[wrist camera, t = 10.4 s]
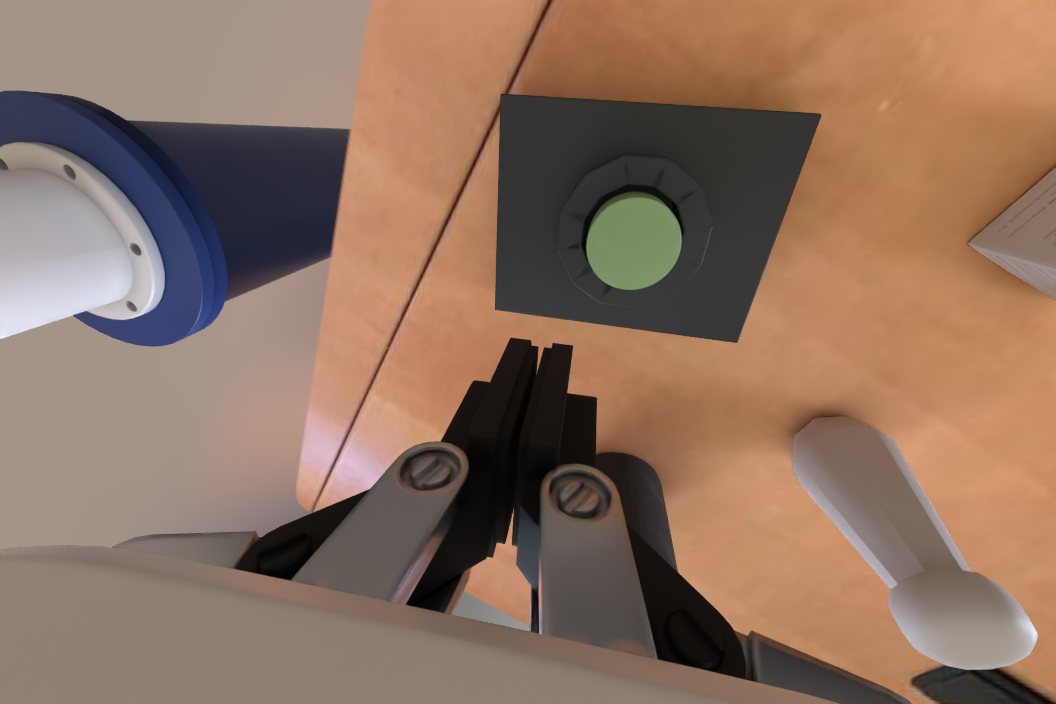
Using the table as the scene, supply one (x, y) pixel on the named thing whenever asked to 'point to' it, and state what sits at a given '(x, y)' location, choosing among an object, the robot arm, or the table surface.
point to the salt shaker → (909, 547)
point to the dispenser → (652, 167)
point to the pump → (633, 241)
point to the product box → (1026, 237)
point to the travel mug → (640, 500)
